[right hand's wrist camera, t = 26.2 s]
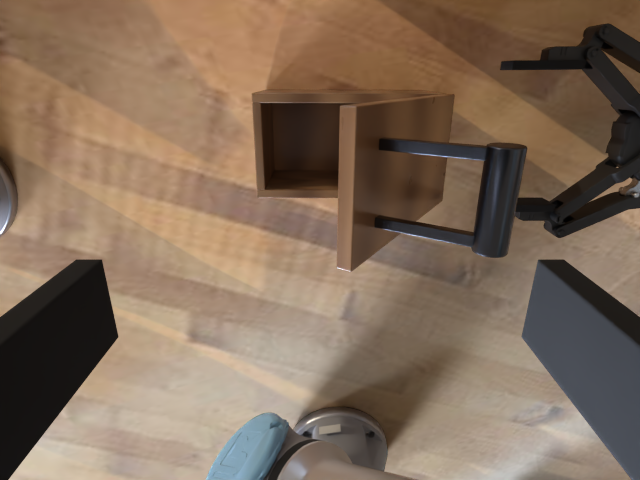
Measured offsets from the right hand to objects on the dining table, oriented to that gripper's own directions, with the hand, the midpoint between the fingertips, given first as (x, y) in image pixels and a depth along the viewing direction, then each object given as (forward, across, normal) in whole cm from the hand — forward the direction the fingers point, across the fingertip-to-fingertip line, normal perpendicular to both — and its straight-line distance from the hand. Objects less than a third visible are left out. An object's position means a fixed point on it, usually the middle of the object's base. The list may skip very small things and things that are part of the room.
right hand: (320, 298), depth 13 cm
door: (+20, -6, 0) cm, 21 cm away
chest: (+38, -3, 0) cm, 38 cm away
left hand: (+31, -18, 0) cm, 35 cm away
